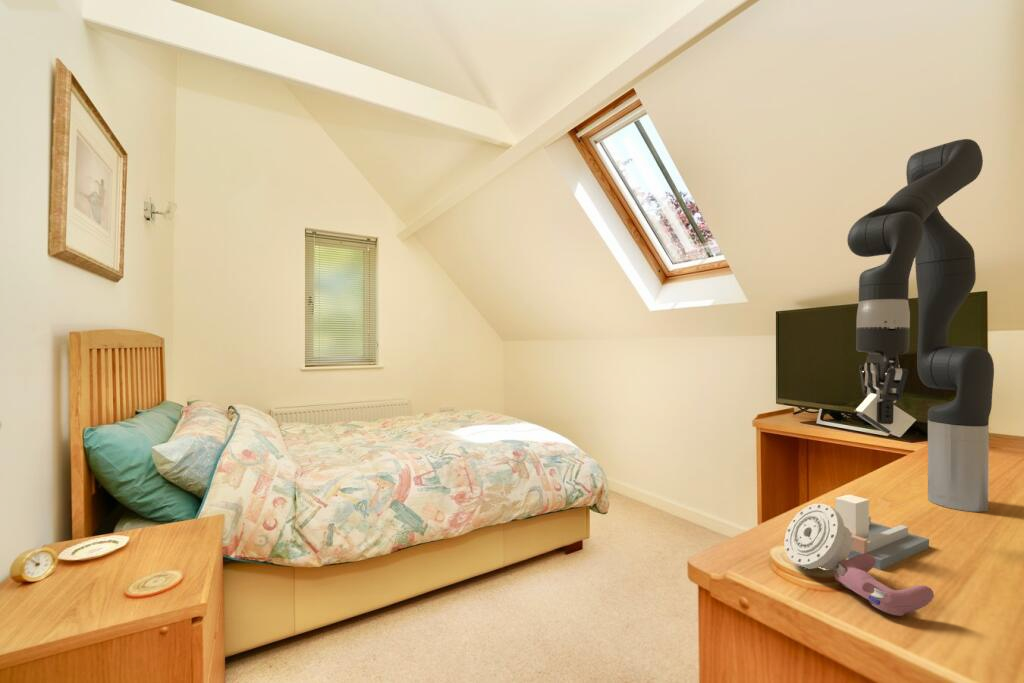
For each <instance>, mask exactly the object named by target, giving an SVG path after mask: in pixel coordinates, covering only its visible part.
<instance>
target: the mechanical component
mask: <svg viewBox="0 0 1024 683" xmlns="http://www.w3.org/2000/svg"><path fill="white" fill-rule="evenodd" d="M853 540H854V538H853V537H852V533H851V532H850V531H849V529H848V528H846V527H845V526H844V523H843V519H842V517H841V516H840V514H839V513H838V512H837V511H836V510H835V508H833V507H831V506H830V505H827V504H826V503H814V504H813V503H812V504H810V505H807V506H805V507H803V509H800V511H799V512H798V513H796V514H795V516H794V517H793V518H792V520H791V521H790V522H789V525H788V526H787V528H786V532H785V536H784V540H783V544H784V545H783V546H784V551H785V554H786V557H787V558H788V559H789V561H791V562H793V564H795V563H796V565H797V566H799V567H800V566H802V567H805V568H804V569H806V568H808V569H807V570H811V569H816V568H817V567H821V568H825V569H830V570H829V571H832V570H833V571H835V569H836V567H837V566H838V564H839V563H840V562H841V561H844V560H848V558H847V557H848V555H849V554H850V553H852V552H853V550H852V549H851V548H852V541H853ZM802 567H801V568H802ZM817 569H818V568H817Z"/></svg>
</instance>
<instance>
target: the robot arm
mask: <svg viewBox="0 0 1024 683" xmlns="http://www.w3.org/2000/svg"><path fill="white" fill-rule="evenodd" d="M983 159H984V158H983V153H982V150H981V147H980V145H979V144H978V142H976V140H973V139H971V138H962V139H958V140H953V141H950V142H946V143H943V144H940V145H937V146H933V147H930V148H926V149H924V150H923V149H922V150H920V151H918V152H915V153H913V154H912V155H911V156H910V157H909V158H908V160H907V163H906V172H905V174H906V184H907V185H905V186H904V187H903V188H901V189H899V190H898V191H897V192H895V193H894V195H892V196H891V197H890V199H889V200H888V201H886V203H885V204H884V205H881V206H880V207H878V208H876V209H874V210H872V211H871V212H869V213H867V214H865V215H864V216H861V217H860V218H859V219H857V220H856V221H855V222H854V223H853V224H852V226H851V228H850V229H849V231H848V235H847V240H846V241H847V246H848V248H849V250H850V252H851V253H853V254H854V255H856V256H859V257H864V258H870V257H871V258H872V257H877V256H878V257H879V256H885V255H889V256H888V257H887V259H886V260H885V262H884V263H881V264H880V265H877V266H875V267H872V268H869V269H866V270H864V271H862V272H861V273H860V275H859V278H858V279H859V281H858V305H857V312H856V328H855V330H856V332H855V333H856V334H855V335H856V336H855V338H856V339H855V340H856V341H855V346H856V347H855V349H856V352H859V353H866V354H867V355H866V360H865V363H864V365H859V367H858V371H859V376H860V384H861V389H862V394H863V396H866V397H867V396H868V395H869V394H871V393H873V394H877V401H878V402H877V422H878V423H881V424H892V423H893V405H895V404H894V403H897V401H901V400H902V397H903V393H904V390H905V385H906V381H907V378H908V375H909V371H908V368H904V367H903V368H901V366H900V360H899V356H898V355H899V354H907V353H909V351H910V343H911V342H910V341H911V340H910V336H911V333H910V331H911V330H910V328H911V310H910V306H909V287H910V286H909V283H910V280H909V279H910V275H911V271H912V268H913V264H915V266H914V267H915V268H914V269H915V280H916V291H917V301H918V302H917V303H918V306H917V307H918V332H917V334H918V336H917V338H918V339H917V354H916V364H917V365H916V366H917V368H916V369H917V373H918V377H919V380H920V381H921V382H922V384H923V385H925V386H926V387H928V388H932V389H938V390H949V391H950V390H951V391H952V390H953V391H956V396H955V398H954V399H953V400H951V401H949V402H947V403H944V404H943V403H942V404H939V405H933V406H931V407H929V408H928V410H927V501H929V502H930V503H933V504H935V505H938V506H941V507H945V508H948V509H952V510H957V511H965V512H973V513H977V512H978V513H983V512H988V511H989V490H990V489H989V488H990V487H989V483H990V481H989V475H990V474H989V472H990V471H989V470H990V469H989V461H990V460H989V458H990V457H989V455H990V454H989V452H990V451H989V444H990V442H989V421H990V415H991V411H992V406H993V390H994V380H995V379H994V377H995V365H994V364H995V363H994V360H993V357H992V355H991V353H990V352H989V351H988V350H987V349H986V348H984V347H981V346H967V345H966V346H965V345H964V346H962V345H961V346H960V345H957V346H956V345H955V346H954V345H953V346H952V345H949V330H950V325H951V323H952V320H953V318H954V316H955V315H956V313H957V312H958V310H959V309H960V307H962V305H963V304H964V302H965V300H966V299H967V298H968V297H969V295H970V294H971V292H972V290H973V288H974V286H975V283H976V275H977V274H976V272H977V271H976V259H975V258H976V256H975V250H974V248H973V246H972V245H971V243H970V242H969V241H968V239H966V238H965V237H964V236H963V235H962V233H960V232H959V231H958V230H957V229H955V228H954V227H953V225H951V224H950V223H949V222H948V221H947V220H946V218H945V217H944V216H943V215H942V213H941V212H940V210H939V206H941V204H942V203H944V202H945V201H946V200H948V199H949V198H951V197H952V196H953V195H955V194H957V193H958V192H959V191H961V190H962V189H964V188H965V187H966V186H968V185H970V184H971V183H972V182H974V181H975V180H976V179H977V178H979V175H980V173H982V169H983V161H984V160H983ZM914 262H915V263H914Z"/></svg>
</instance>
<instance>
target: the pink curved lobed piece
mask: <svg viewBox="0 0 1024 683" xmlns="http://www.w3.org/2000/svg"><path fill="white" fill-rule="evenodd" d="M875 563H876V560H875V558H874V557H873V556H872V555H870V554H860V555H857V556H855V557H853V558H851V559H849V558H847V559H846V560H844V561H841V562H840V563H839V564H838V566H837V567H836V569H835V570H834V574H835V578H834V579H835V580H836V581H837V582H839V583H840V584H842V586H843V587H844V588H846V589H848V590H851V591H853V592H854V593H855V594H857V595H859V596H861V597H862V598H864V599H866V600H868V601H869V603H870V604H871V606H873V607H874V608H876V609H878V610H880V611H882V612H884V613H886V614H888V615H893V616H900V617H902V616H904V615H905V614H906V613H907V614H908V613H910V612H914V611H919V610H920V609H922V608H924V607H926V606H927V605H929V604H930V603H931V602H932V601H933V599H934V597H935V595H934V591H933V589H932V588H931V587H929V586H927V585H924V584H923V585H920V584H919V585H914V586H911V587H908V588H904V589H900V590H898V589H897V590H895V589H893V588H891V587H889V586H887V585H886V584H883V583H882V582H881V581H878V580H877V579H876V578H875V577H873V575H871V574H870V573H868V572H870V571H871V570H872V569H873V567H874V565H875Z"/></svg>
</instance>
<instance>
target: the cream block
mask: <svg viewBox="0 0 1024 683" xmlns="http://www.w3.org/2000/svg"><path fill="white" fill-rule="evenodd" d="M877 402H878V401H877V394H873V393H871V394H869V395H868V396H867V395H866V397H865V398H864V400H863V401H862V402H861V403H860V404H859V405H858V406H857V407H856V409H855V411H856V412H857V414H856V416H858V417H859V418H861V419H862V420H864V421H865V422H867V423H868V424H870V425H871V426H873V427H875V428H876V429H878V430H879V431H881V432H882V433H885V434H887V435H889V434H891V435H893V436H895V437H898V438H901V437H902V436H903V435H904V434H905V433H906V432H907V430H908V429H910V427H911V426H912V425H913V424H914V423H915V422H916V421H917V419H916V418H915V417H913V416H912V415H910V414H908V413H907V412H905V411H904V410H902V409H901V408H900V407H898V406H896V405H895V404H894V405H893V423H892V424H881V423H878V422H877Z"/></svg>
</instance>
